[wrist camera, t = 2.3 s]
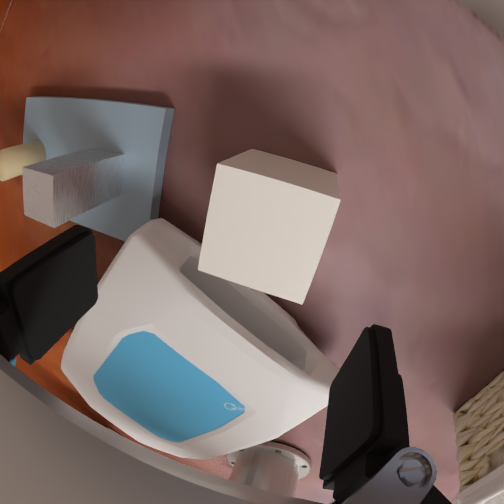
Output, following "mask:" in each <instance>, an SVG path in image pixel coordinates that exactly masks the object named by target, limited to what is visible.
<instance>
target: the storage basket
mask: <svg viewBox="0 0 504 504" xmlns="http://www.w3.org/2000/svg"><path fill="white" fill-rule="evenodd" d="M462 410H463V411H462ZM461 411H462V412H461ZM453 418H454V426H455V433H456V434H457V435H456V445H457V448H458V449H457V461H458V463H459V464H460V465H459V466H458V468H459V472H460V473H459V478H460V490H459V493H458V494H457V495H456V497H457V502H458V503H459V504H504V371H503V372H501V373H500V374H499V375H498V376H497V377H495V378H494V379H493V380H492V381H491V382H490V383H489V384H488V385H487V386H485V387H484V388H483V389H482V390H481V391H480V392H479V393H477V394H476V395H475V396H474V397H473V398H471V399H469V400H468V401H467V402H466V403H465V404H464V405H463V406H462V407H461V408H460V409H459V410H457V411H456V412H455V414H454V415H453Z"/></svg>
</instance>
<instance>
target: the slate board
mask: <svg viewBox="0 0 504 504" xmlns="http://www.w3.org/2000/svg"><path fill="white" fill-rule="evenodd" d="M174 110H175V108H169V107H162V106H155V105H148V104H140V103H132V102H123V101H114V100H103V99H90V98H74V97H48V96H35V97H27V98H26V107H25V118H24V133H23V144H20V145H17V146H13V147H9V148H5V149H2V150H0V180H1V181H5V180H8V179H11V178H13V177H16V176H19V175H22V174H23V167H25V166H28V165H31V164H34V163H37V162H41V161H44V160H47V159H51V158H54V157H58V156H62V155H65V154H69V153H73V152H77V151H81V150H85V149H89V148H97V149H102V150H107V151H112V152H117V153H121V154H124V162H123V172H122V183H121V195H120V196H118V197H116V198H113V199H111V200H109V201H107V202H105V203H103V204H101V205H99V206H97V207H95V208H93V209H91V210H89V211H87V212H85V213H83V214H81V215H79V216H77V217H75V218H73V219H71V220H70V221H72V222H75V223H77V224H80V225H83V226H85V227H88V228H90V229H93V230H96V231H98V232H101V233H104V234H106V235H109V236H112V237H114V238H117V239H120V240H122V241H125V242H126V240H127V239H128V237H129V236H130V235H131V234H132V233H133V232H135V231H136V230H137V229H139V228H140V227H141V226H143V225H144V224H145V223H147V222H148V221H150V220H152V219H158V216H159V207H160V199H161V191H162V184H163V176H164V169H165V163H166V156H167V150H168V144H169V138H170V132H171V126H172V121H173V116H174Z"/></svg>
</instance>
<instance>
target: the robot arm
mask: <svg viewBox="0 0 504 504" xmlns="http://www.w3.org/2000/svg"><path fill="white" fill-rule="evenodd" d="M97 300H98V287H97V272H96V251H95V236H94V235H93V232H92V230H91V229H89V228H86V227H84V226H81V225H75V226H73V227H71V228H70V229H68V230H66V231H64V232H63V233H61V234H59V235H58V236H56V237H54V238H53V239H51V240H49V241H48V242H46V243H45V244H43V245H41V246H40V247H38V248H37V249H35V250H33V251H32V252H30V253H29V254H27V255H26V256H24V257H23V258H21V259H20V260H18V261H17V262H15V263H14V264H12V265H11V266H9V267H8V268H6V269H5V270H3V271H2V272H0V504H322V503H318V502H313V501H309V500H304V499H299V498H294V495H295V491H296V486H297V481H298V479H301V478H303V477H305V476H306V475H308V473H309V472H310V468H311V462H310V459H309V458H308V457H307V456H306V455H305V454H304V453H302V452H301V451H299V450H297V449H295V448H292V447H290V446H287V445H284V444H280V443H276V442H271V441H267V442H264V443H261V444H258V445H255V446H252V447H249V448H245V449H242V450H239V451H235V452H232V453H228V454H227V460H228V462H229V463H230V464H231V465H232V466H233V470H232V473H231V476H230V478H229V480H227V479H224V478H220V477H217V476H214V475H212V474H209V473H206V472H203V471H200V470H198V469H195V468H192V467H190V466H187V465H184V464H182V463H179V462H177V461H175V460H172V459H170V458H167V457H165V456H163V455H160V454H158V453H156V452H154V451H152V450H149V449H147V448H145V447H143V446H141V445H139V444H137V443H135V442H133V441H131V440H129V439H127V438H125V437H123V436H121V435H119V434H117V433H115V432H113V431H111V430H109V429H108V428H106V427H104V426H102V425H100V424H99V423H97V422H95V421H94V420H92V419H90V418H88V417H87V416H85V415H83V414H82V413H80V412H78V411H77V410H75V409H74V408H72V407H71V406H69V405H67V404H66V403H64V402H63V401H61V400H60V399H58V398H57V397H55V396H54V395H52V394H51V393H50V392H48V391H47V390H45V389H44V388H42V387H41V386H40V385H38V384H37V383H36V382H34V381H33V380H31V379H30V378H29V377H27V376H26V375H25V374H24V373H22V372H21V371H20V370H18V369H17V368H16V367H15V364H16V356H17V355H18V354H20V357H21V358H22V359H23V360H24V361H26V362H27V363H28V364H30V365H31V364H32V363H33V362H34V361H35V360H38V359H40V358H42V356H43V355H44V354H45V353H46V352H47V351H48V350H49V349H50V348H51V347H52V346H53V345H54V344H55V343H56V342H57V341H58V340H59V339H60V338H61V337H62V336H63V335H64V334H65V333H66V332H67V331H68V330H69V329H70V328H71V327H72V326H73V325H74V324H75V323H76V322H77V321H78V320H79V319H80V318H81V317H83V316H84V315H85V314H86V313H87V312H88V311H89V310H90V309H91V308H92V307H93V306H94V305H95V304H96V302H97ZM436 474H437V471H436V465H435V463H434V461H433V459H432V458H431V457H430V455H429V454H428V453H427V452H425V451H424V450H422V449H419V448H416V447H410V446H409V434H408V423H407V413H406V404H405V396H404V388H403V381H402V377H401V376H400V374H398V369H397V362H396V356H395V350H394V344H393V338H392V332H391V329H389V328H386V327H382V326H379V325H375V324H373V325H372V326H371V327H370V328H369V327H366V328H364V330H363V332H362V333H361V335H360V337H359V339H358V340H357V342H356V344H355V346H354V347H353V349H352V351H351V352H350V354H349V356H348V357H347V359H346V361H345V362H344V364H343V365H342V367H341V369H340V370H339V372H338V373H337V375H336V377H335V378H334V380H333V381H332V384H331V386H330V390H329V400H328V410H327V420H326V429H325V437H324V445H323V453H322V460H321V467H320V475H319V477H320V479H322V480H324V483H323V489H330V490H334V492H333V498H334V500H333V501H332V502H331V503H329V504H452V503H451V502H450V501H449V500H448V499H447V498H446V497H445V496H444V495H443V494H442V493H441V492H440V491H439V490H438V489H437V488H436V487H435V486H434V485H433V484H434V482H435V480H436Z"/></svg>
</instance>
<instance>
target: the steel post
mask: <svg viewBox="0 0 504 504" xmlns="http://www.w3.org/2000/svg"><path fill="white" fill-rule="evenodd" d="M123 162H124V154H121V153H117V152H112V151H107V150H102V149H97V148H89V149H85V150H81V151H77V152H73V153H69V154H65V155H62V156H58V157H54V158H51V159H47V160H44V161H41V162H37V163H34V164H31V165H28V166H25V167H23V201H24V215H25V216H28V217H30V218H32V219H34V220H37V221H39V222H41V223H44V224H46V225H48V226H51V227H53V228H56V227H57V226H59V225H61V224H63V223H65V222H67V221H69V220H71V219H73V218H75V217H77V216H79V215H81V214H83V213H85V212H87V211H89V210H91V209H93V208H95V207H97V206H99V205H101V204H103V203H105V202H107V201H109V200H111V199H113V198H116V197H118V196H120V195H121V183H122V172H123Z"/></svg>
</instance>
